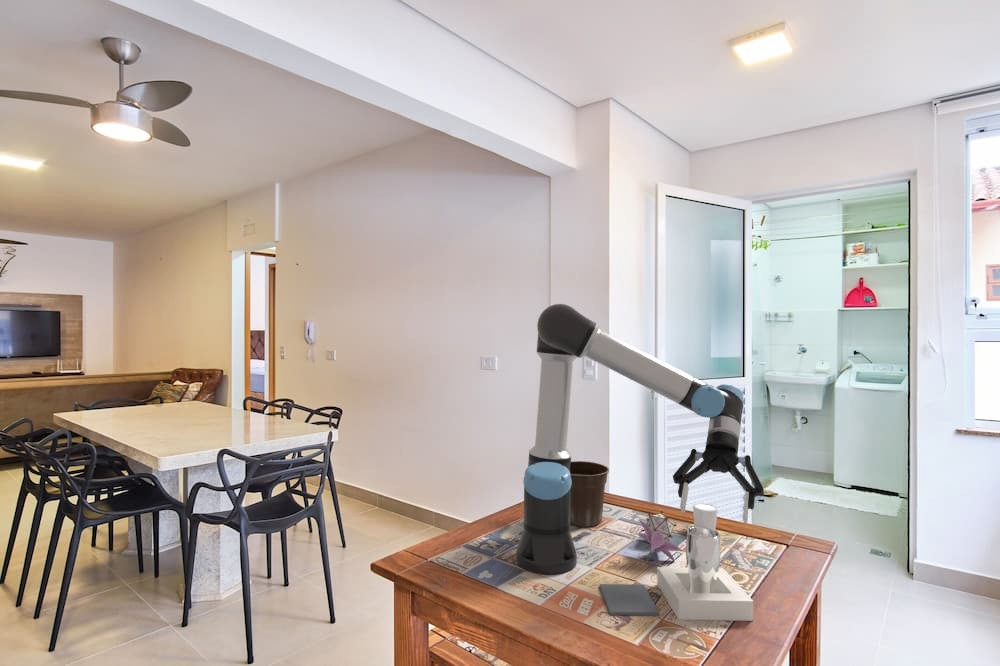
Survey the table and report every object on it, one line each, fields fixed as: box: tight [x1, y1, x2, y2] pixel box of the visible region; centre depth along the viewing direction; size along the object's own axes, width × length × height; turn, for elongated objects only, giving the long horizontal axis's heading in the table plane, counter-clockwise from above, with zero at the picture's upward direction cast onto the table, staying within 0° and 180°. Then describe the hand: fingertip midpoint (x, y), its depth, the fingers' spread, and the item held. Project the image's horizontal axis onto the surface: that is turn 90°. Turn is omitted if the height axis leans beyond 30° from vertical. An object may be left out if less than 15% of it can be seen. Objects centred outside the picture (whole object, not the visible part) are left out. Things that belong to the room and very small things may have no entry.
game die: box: [640, 510, 678, 541], centre depth 149 cm, size 9×8×10 cm
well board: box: [656, 566, 755, 622], centre depth 117 cm, size 15×15×4 cm
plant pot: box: [570, 460, 610, 528], centre depth 165 cm, size 16×16×16 cm
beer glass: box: [685, 526, 721, 593], centre depth 117 cm, size 7×7×15 cm
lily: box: [636, 519, 683, 565], centre depth 137 cm, size 12×12×10 cm
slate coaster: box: [599, 583, 660, 616], centre depth 117 cm, size 10×12×1 cm
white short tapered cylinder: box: [692, 503, 719, 531], centre depth 158 cm, size 7×7×7 cm
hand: (712, 515), depth 125 cm, fingers open, 13 cm apart
